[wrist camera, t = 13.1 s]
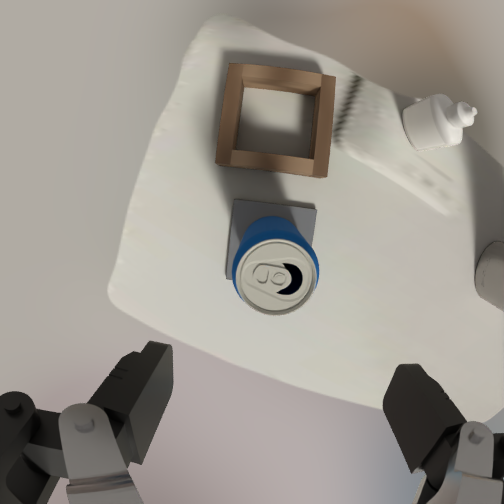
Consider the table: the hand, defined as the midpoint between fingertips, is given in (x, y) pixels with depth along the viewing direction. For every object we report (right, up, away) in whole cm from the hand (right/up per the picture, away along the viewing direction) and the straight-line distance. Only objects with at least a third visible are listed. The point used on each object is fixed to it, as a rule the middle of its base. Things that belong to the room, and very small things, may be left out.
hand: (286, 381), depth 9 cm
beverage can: (+1, +5, +23) cm, 23 cm away
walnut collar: (+1, +18, +20) cm, 27 cm away
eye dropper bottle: (+19, +19, +19) cm, 33 cm away
